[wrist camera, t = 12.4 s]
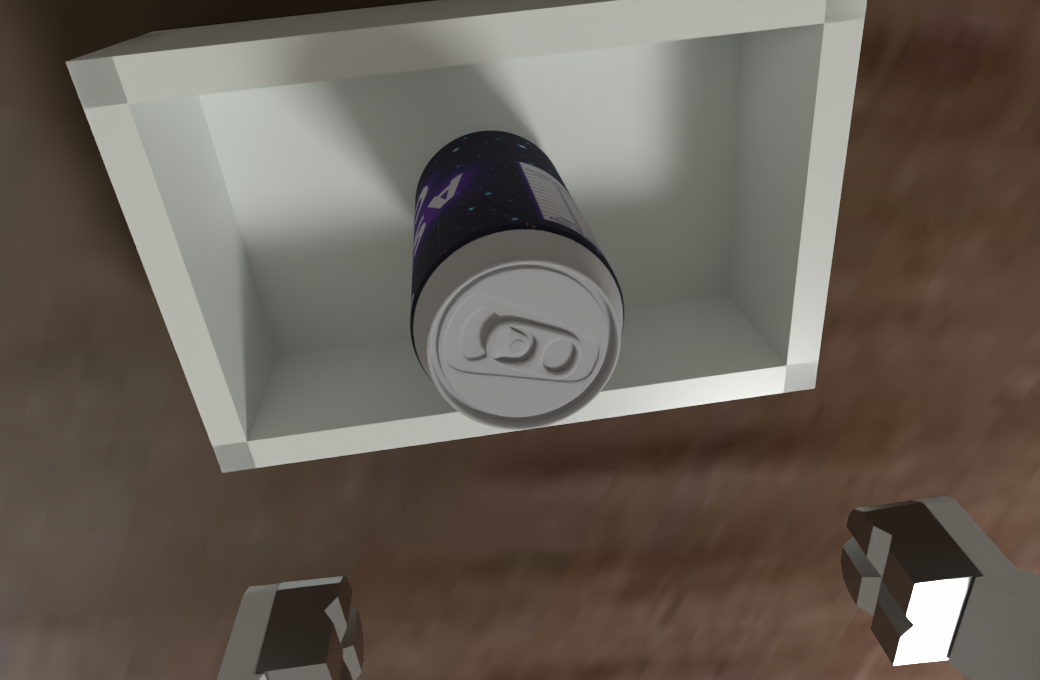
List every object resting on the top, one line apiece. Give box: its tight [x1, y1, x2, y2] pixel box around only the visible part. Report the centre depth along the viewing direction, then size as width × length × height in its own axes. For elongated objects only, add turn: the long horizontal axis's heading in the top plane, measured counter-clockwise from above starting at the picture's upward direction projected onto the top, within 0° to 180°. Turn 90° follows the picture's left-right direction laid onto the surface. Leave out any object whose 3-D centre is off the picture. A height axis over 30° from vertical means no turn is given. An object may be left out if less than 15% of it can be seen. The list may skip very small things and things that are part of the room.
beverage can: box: [410, 130, 624, 430], centre depth 23 cm, size 6×6×12 cm
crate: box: [66, 0, 867, 473], centre depth 26 cm, size 22×14×7 cm, turn 95°
